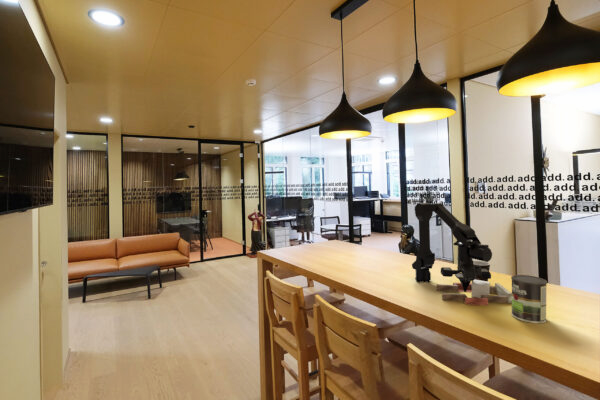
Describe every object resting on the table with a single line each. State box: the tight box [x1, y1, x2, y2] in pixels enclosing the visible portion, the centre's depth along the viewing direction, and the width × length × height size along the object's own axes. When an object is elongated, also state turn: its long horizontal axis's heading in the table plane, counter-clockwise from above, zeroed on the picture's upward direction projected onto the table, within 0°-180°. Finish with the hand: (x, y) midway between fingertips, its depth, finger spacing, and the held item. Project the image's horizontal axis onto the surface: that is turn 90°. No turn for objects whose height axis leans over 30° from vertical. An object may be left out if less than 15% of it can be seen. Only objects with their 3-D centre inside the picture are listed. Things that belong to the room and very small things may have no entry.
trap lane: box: [435, 282, 512, 306], centre depth 133 cm, size 26×20×4 cm
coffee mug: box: [471, 260, 491, 283], centre depth 150 cm, size 12×9×10 cm
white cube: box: [471, 280, 491, 298], centre depth 132 cm, size 6×6×6 cm
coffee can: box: [510, 274, 548, 324], centre depth 110 cm, size 10×10×14 cm
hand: (464, 292), depth 134 cm, fingers closed
